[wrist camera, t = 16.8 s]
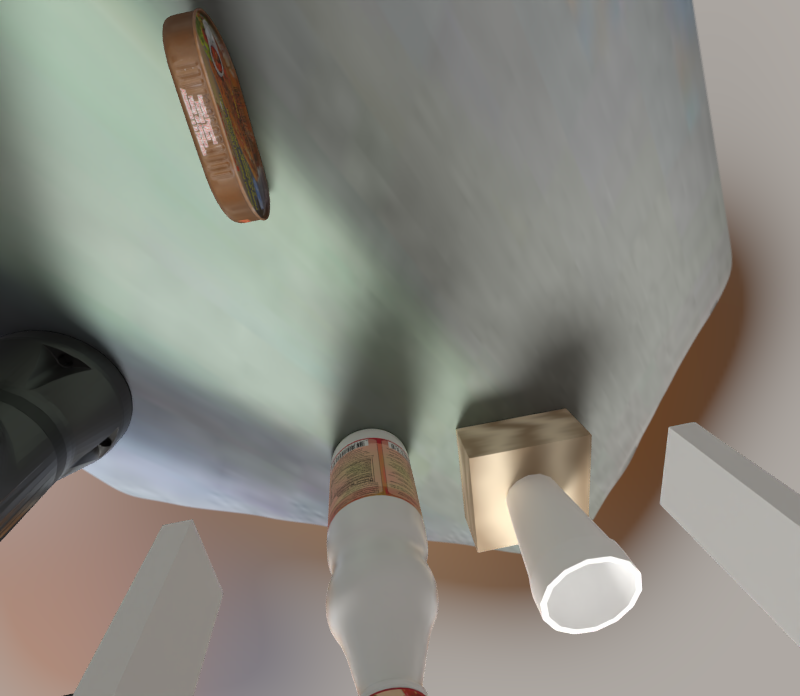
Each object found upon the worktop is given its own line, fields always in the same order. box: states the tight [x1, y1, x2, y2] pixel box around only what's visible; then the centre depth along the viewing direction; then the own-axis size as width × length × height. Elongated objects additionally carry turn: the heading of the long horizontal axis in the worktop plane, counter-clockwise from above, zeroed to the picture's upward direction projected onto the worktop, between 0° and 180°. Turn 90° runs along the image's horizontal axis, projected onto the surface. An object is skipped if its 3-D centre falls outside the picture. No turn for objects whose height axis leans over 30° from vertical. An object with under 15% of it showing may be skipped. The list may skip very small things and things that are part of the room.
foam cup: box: [506, 474, 642, 634], centre depth 44 cm, size 10×9×13 cm
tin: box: [163, 8, 270, 223], centre depth 34 cm, size 15×3×8 cm, turn 10°
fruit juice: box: [326, 429, 438, 696], centre depth 39 cm, size 9×9×28 cm
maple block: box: [456, 408, 592, 552], centre depth 53 cm, size 14×14×6 cm
